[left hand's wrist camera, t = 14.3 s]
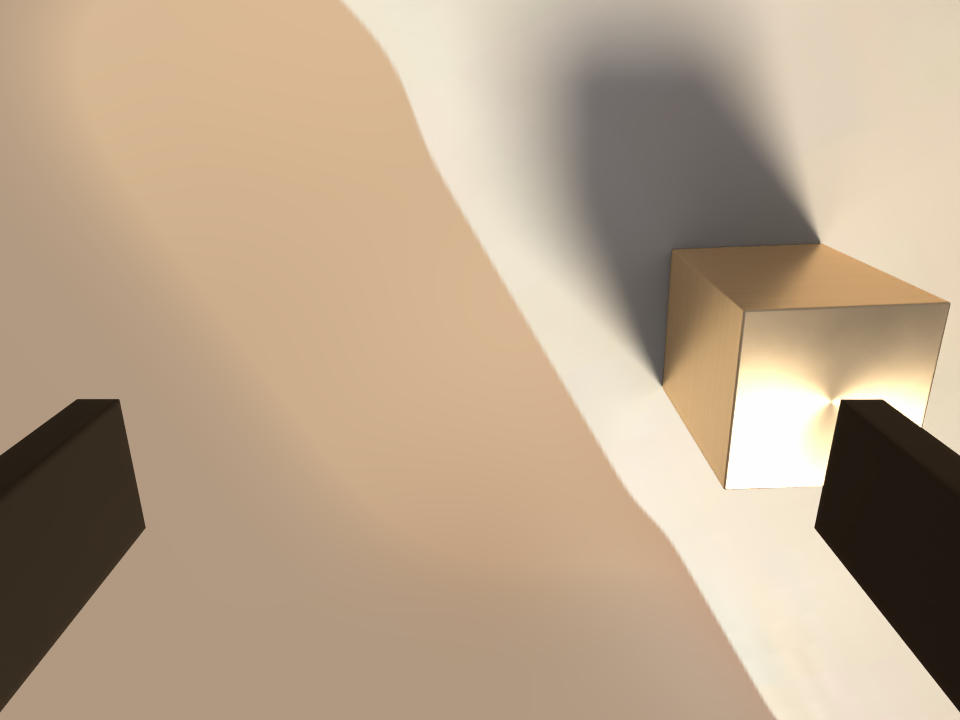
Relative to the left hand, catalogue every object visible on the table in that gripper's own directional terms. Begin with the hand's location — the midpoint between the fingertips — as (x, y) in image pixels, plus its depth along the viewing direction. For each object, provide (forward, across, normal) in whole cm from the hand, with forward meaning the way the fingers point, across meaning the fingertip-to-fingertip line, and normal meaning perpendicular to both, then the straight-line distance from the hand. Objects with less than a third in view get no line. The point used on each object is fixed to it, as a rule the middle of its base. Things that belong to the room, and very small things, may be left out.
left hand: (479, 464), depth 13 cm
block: (+21, -13, +4) cm, 25 cm away
